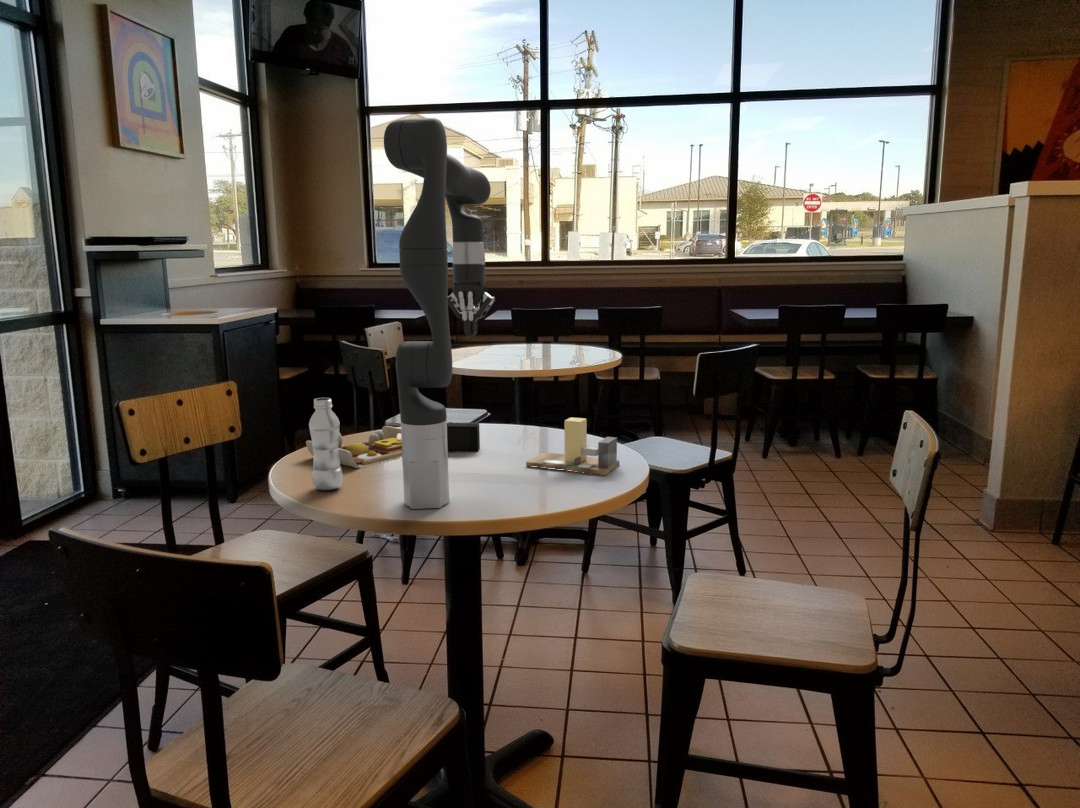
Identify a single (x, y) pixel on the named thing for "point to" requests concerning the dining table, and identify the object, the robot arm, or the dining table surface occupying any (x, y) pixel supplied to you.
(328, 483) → the plastic bottle
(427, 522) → the dining table surface
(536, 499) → the dining table surface
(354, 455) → the toy food set
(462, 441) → the digital camera
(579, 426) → the block
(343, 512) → the dining table surface
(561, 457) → the base
